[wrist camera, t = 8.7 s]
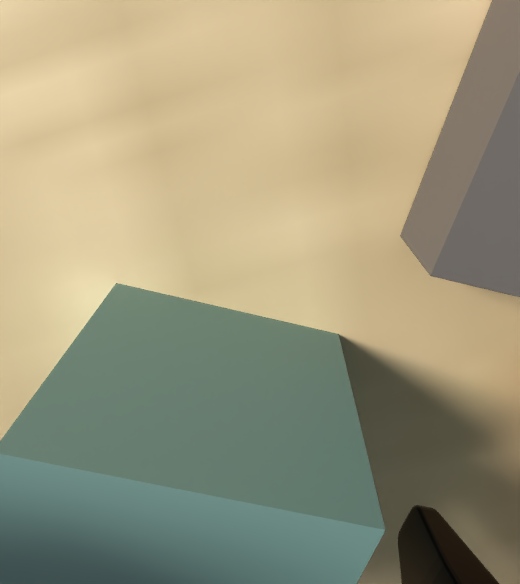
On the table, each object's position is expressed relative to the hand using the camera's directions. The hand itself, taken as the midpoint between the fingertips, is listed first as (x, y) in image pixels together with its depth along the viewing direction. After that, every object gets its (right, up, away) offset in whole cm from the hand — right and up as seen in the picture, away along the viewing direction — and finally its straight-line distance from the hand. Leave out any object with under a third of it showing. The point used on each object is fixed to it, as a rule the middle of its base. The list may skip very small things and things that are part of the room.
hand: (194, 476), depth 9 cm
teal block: (0, +1, +2) cm, 2 cm away
